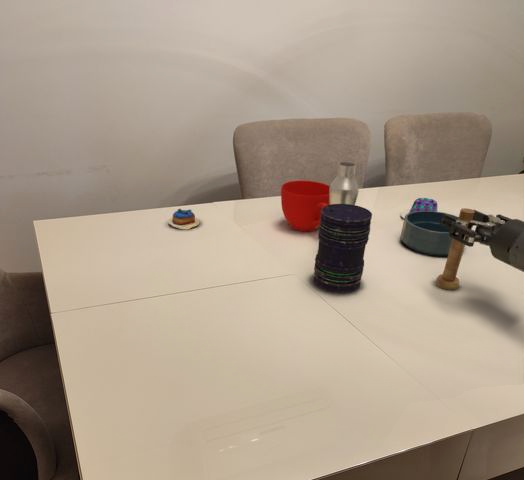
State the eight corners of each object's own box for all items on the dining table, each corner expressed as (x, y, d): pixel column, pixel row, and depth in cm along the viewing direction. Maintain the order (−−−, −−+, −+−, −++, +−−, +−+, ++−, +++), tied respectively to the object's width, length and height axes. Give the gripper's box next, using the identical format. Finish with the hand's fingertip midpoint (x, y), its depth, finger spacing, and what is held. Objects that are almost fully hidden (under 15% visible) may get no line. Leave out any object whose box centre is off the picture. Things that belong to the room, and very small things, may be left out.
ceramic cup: (300, 245, 119) (304, 203, 114) (270, 220, 132) (272, 182, 126) (346, 238, 124) (352, 198, 118) (313, 215, 137) (317, 178, 131)
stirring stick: (460, 284, 106) (482, 210, 97) (453, 292, 103) (475, 216, 94) (440, 278, 108) (460, 205, 99) (432, 285, 105) (452, 210, 96)
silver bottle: (344, 246, 120) (356, 160, 108) (353, 258, 114) (367, 168, 103) (318, 247, 119) (328, 160, 107) (325, 259, 113) (337, 168, 102)
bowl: (471, 244, 125) (478, 221, 121) (450, 263, 114) (457, 238, 111) (414, 228, 132) (419, 206, 129) (389, 245, 122) (394, 221, 118)
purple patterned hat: (441, 214, 142) (446, 196, 139) (447, 229, 133) (452, 210, 130) (399, 210, 144) (402, 191, 141) (401, 224, 134) (405, 205, 131)
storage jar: (362, 275, 107) (374, 207, 99) (359, 296, 99) (371, 223, 91) (316, 269, 109) (323, 201, 100) (309, 289, 101) (317, 217, 92)
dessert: (183, 229, 122) (174, 206, 121) (169, 238, 127) (160, 216, 126) (207, 223, 127) (198, 201, 127) (192, 232, 132) (183, 211, 132)
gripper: (561, 222, 88) (487, 194, 100) (505, 233, 82) (433, 201, 94) (546, 261, 92) (476, 230, 104) (491, 274, 86) (424, 239, 98)
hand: (456, 216), depth 99 cm, fingers open, 7 cm apart
